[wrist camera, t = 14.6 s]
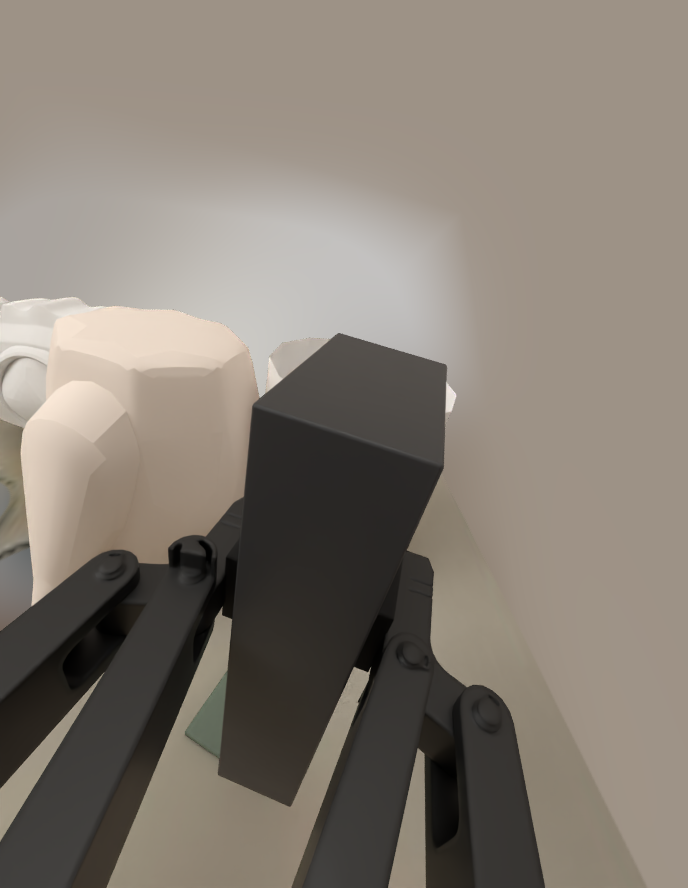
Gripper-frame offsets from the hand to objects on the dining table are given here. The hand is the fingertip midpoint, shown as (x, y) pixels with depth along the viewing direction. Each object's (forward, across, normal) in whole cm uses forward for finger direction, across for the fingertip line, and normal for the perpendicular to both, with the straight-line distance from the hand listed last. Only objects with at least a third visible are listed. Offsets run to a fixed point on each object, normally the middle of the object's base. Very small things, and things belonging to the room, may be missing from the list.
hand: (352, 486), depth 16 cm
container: (+14, -2, -18) cm, 23 cm away
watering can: (+8, -16, +1) cm, 18 cm away
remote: (-5, 0, -9) cm, 11 cm away
